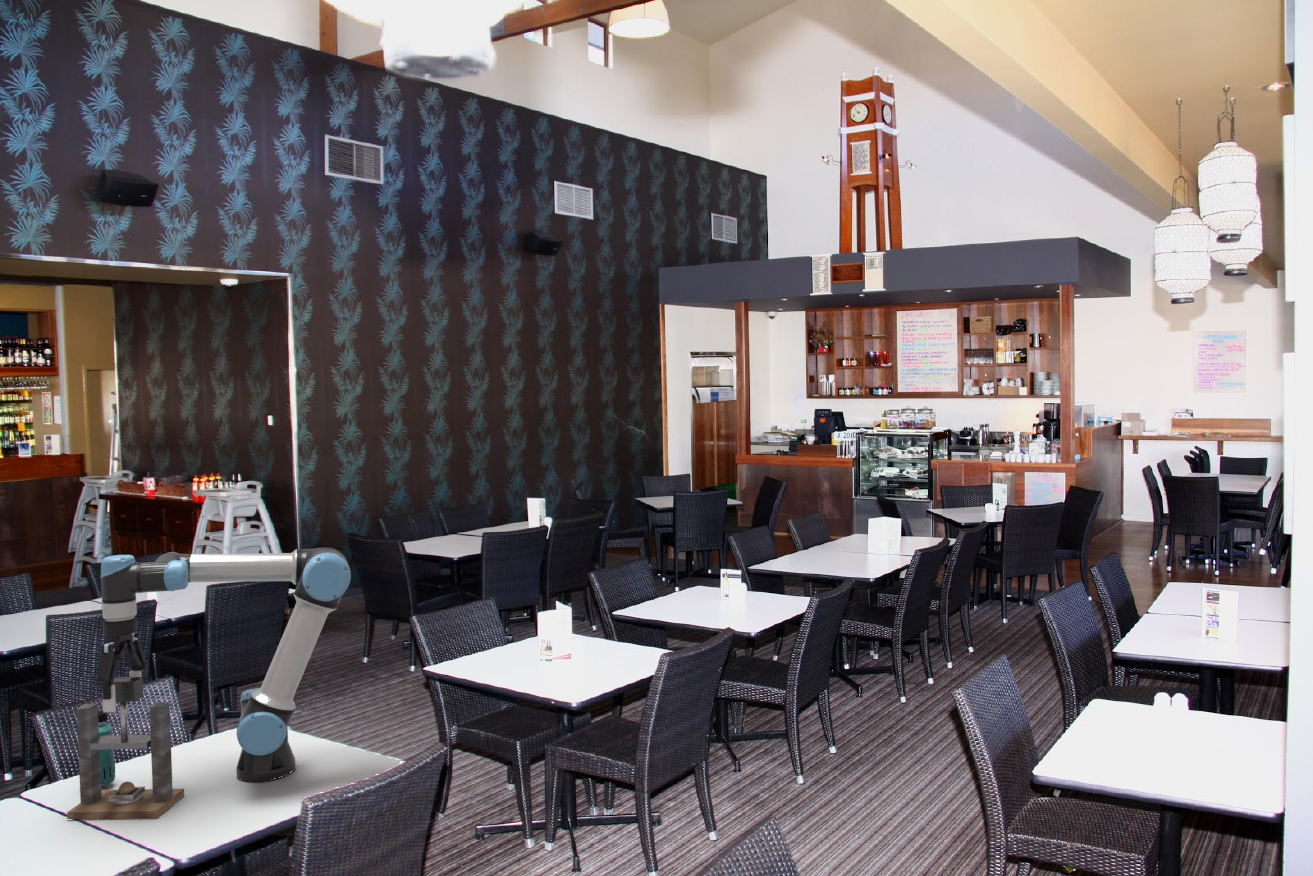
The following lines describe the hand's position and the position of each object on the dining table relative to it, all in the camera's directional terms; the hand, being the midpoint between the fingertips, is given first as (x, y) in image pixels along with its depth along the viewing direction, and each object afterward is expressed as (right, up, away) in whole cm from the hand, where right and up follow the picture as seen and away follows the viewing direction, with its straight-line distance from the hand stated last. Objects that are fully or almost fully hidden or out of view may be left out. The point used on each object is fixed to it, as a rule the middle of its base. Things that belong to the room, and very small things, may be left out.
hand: (123, 704), depth 253 cm
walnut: (0, -22, +1) cm, 22 cm away
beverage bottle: (-14, -26, +15) cm, 33 cm away
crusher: (0, -10, 0) cm, 10 cm away
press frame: (0, -26, +1) cm, 26 cm away
